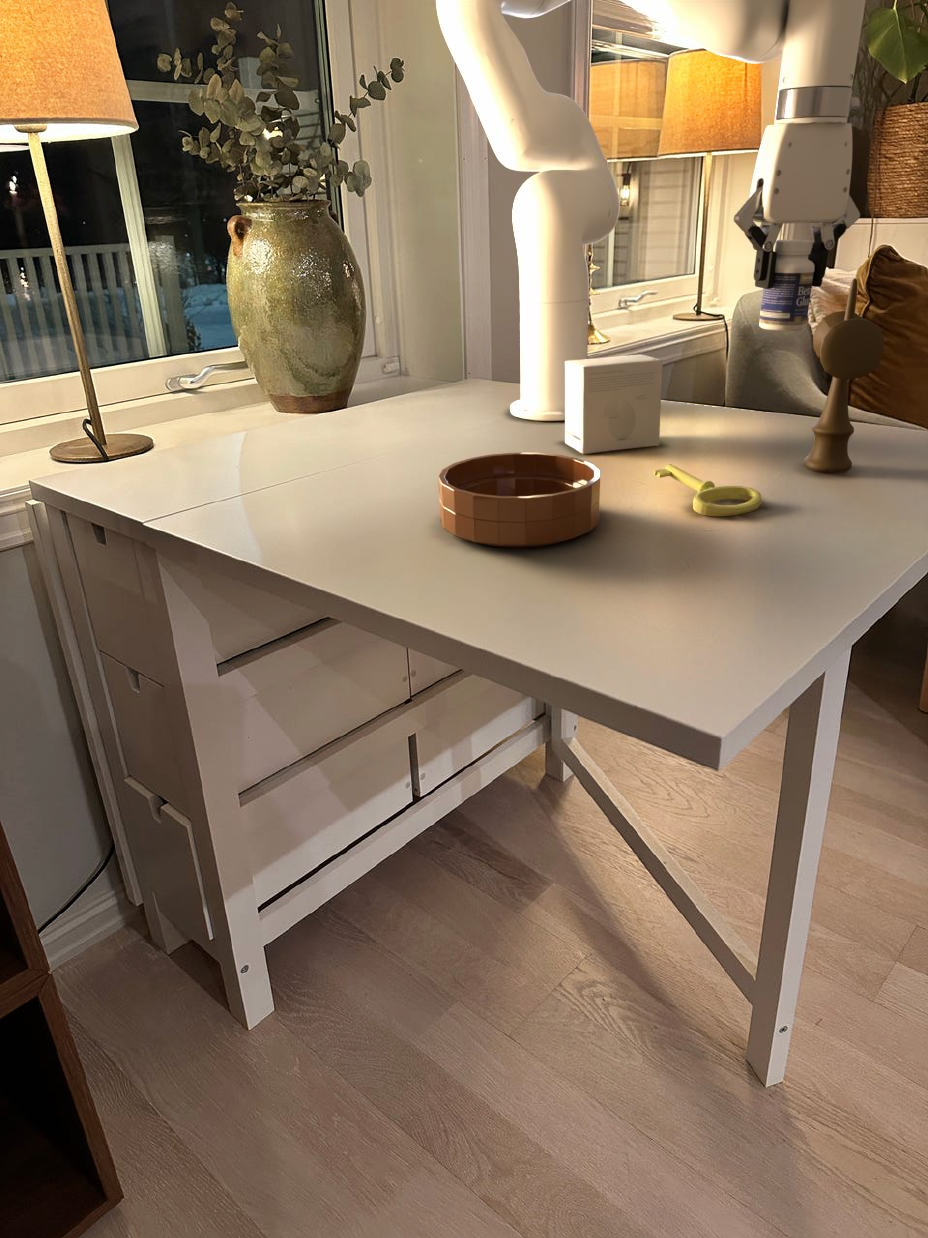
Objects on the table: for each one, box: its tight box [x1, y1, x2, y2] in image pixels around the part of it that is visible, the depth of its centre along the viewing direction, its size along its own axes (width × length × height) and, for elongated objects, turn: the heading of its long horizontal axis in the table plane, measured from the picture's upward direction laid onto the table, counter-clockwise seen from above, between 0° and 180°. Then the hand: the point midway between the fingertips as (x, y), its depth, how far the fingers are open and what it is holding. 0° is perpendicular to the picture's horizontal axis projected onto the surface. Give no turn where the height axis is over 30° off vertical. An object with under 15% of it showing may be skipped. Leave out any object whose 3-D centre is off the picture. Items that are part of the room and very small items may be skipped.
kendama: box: [803, 278, 885, 474], centre depth 94 cm, size 6×10×20 cm, turn 167°
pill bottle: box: [758, 239, 814, 332], centre depth 104 cm, size 5×5×10 cm
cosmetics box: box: [564, 353, 664, 455], centre depth 109 cm, size 10×6×10 cm, turn 105°
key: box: [653, 463, 762, 517], centre depth 90 cm, size 7×12×2 cm, turn 43°
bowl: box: [437, 452, 601, 548], centre depth 85 cm, size 15×15×5 cm
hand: (787, 284), depth 104 cm, fingers closed on pill bottle, 5 cm apart
